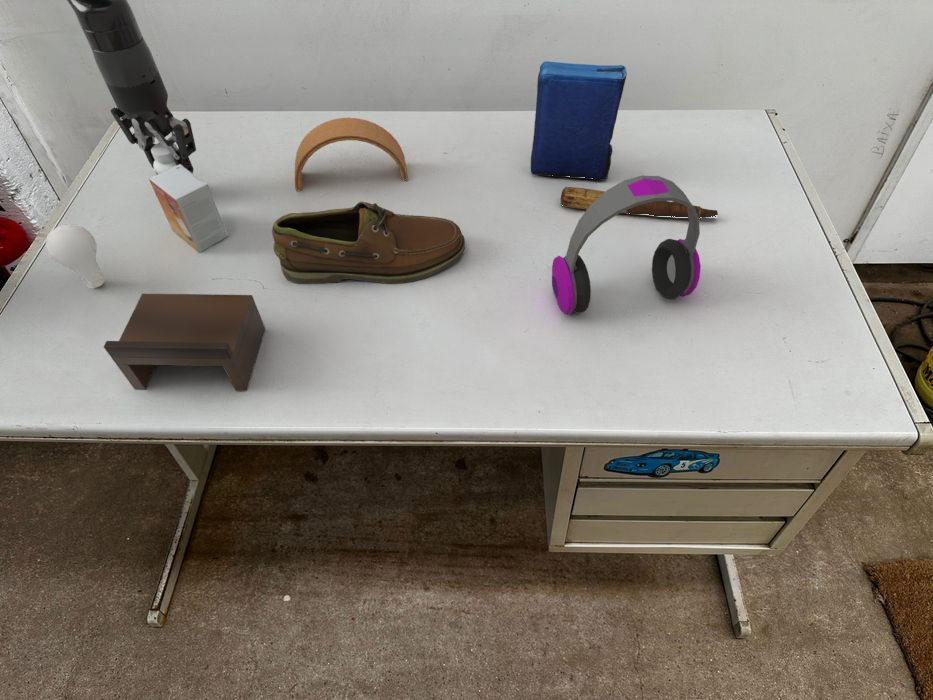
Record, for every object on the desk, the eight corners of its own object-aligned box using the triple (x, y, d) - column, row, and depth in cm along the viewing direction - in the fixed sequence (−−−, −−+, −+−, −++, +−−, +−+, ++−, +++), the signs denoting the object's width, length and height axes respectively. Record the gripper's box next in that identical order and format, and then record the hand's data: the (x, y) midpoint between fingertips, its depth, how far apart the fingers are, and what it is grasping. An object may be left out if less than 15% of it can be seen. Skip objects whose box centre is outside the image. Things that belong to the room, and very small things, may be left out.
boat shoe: (472, 273, 95) (472, 222, 87) (282, 302, 91) (265, 252, 83) (458, 230, 101) (457, 179, 93) (280, 255, 97) (264, 205, 90)
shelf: (162, 327, 88) (135, 282, 81) (265, 328, 87) (248, 284, 80) (134, 389, 81) (103, 346, 74) (246, 391, 81) (226, 348, 74)
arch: (296, 172, 111) (284, 122, 104) (405, 163, 113) (401, 113, 105) (295, 191, 108) (282, 141, 100) (408, 181, 110) (403, 131, 102)
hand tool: (560, 197, 106) (563, 182, 104) (714, 216, 103) (720, 201, 101) (558, 210, 104) (561, 195, 102) (715, 230, 101) (722, 214, 99)
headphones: (559, 328, 87) (579, 218, 72) (543, 286, 93) (558, 174, 77) (694, 308, 90) (742, 197, 74) (670, 267, 95) (710, 156, 80)
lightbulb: (94, 268, 95) (58, 211, 87) (127, 276, 94) (93, 220, 86) (67, 295, 92) (26, 238, 83) (101, 304, 91) (63, 247, 82)
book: (608, 168, 112) (630, 60, 96) (608, 186, 109) (631, 77, 93) (530, 162, 113) (540, 54, 98) (528, 179, 110) (538, 70, 94)
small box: (172, 231, 101) (146, 178, 93) (202, 216, 103) (179, 162, 95) (199, 254, 97) (174, 200, 89) (229, 237, 100) (208, 183, 92)
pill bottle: (162, 202, 106) (138, 153, 98) (182, 185, 109) (161, 135, 101) (187, 209, 104) (165, 160, 97) (207, 192, 108) (187, 142, 100)
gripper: (73, 74, 89) (124, 173, 102) (151, 94, 85) (193, 193, 99) (111, 52, 93) (155, 149, 106) (186, 70, 90) (222, 168, 103)
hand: (173, 170), depth 102 cm, fingers closed on pill bottle, 5 cm apart
